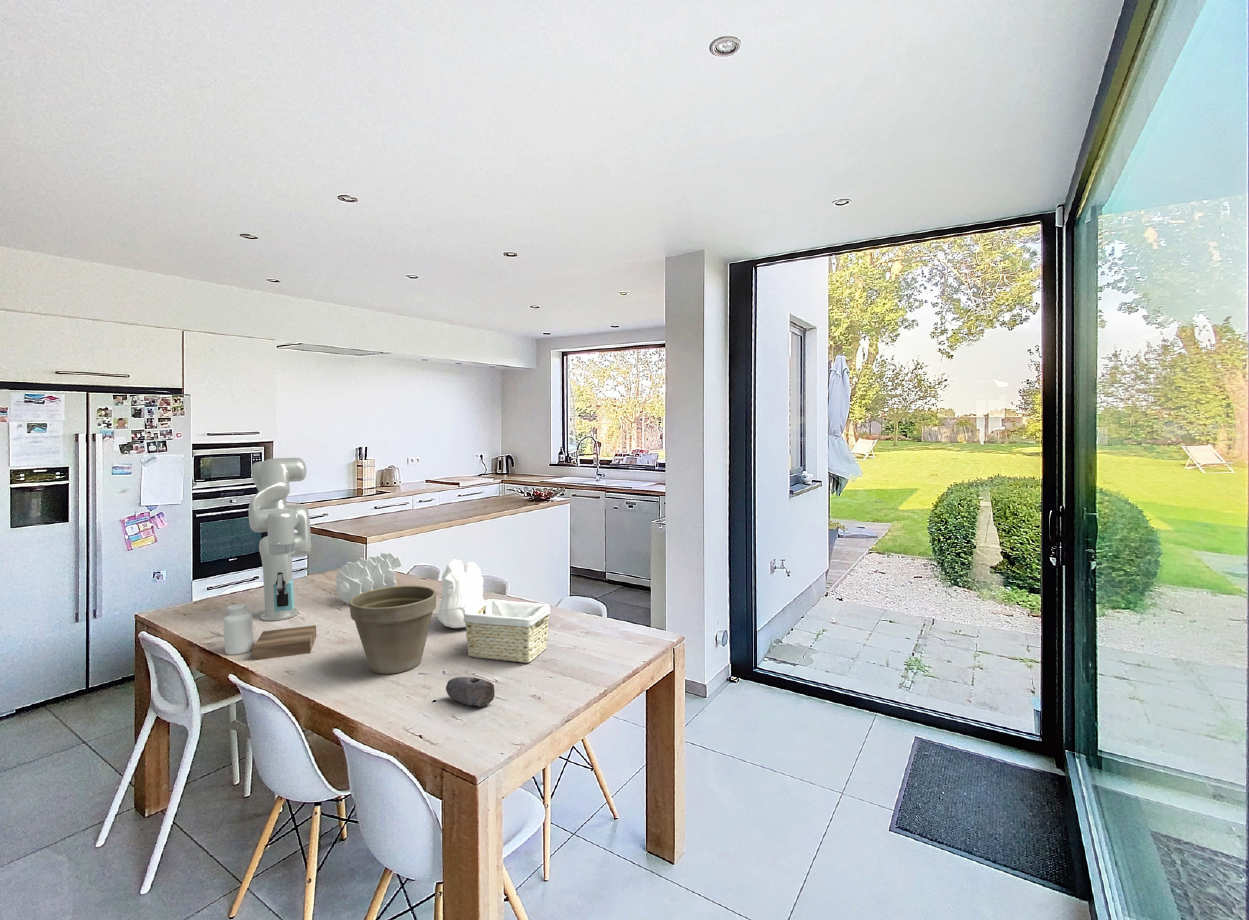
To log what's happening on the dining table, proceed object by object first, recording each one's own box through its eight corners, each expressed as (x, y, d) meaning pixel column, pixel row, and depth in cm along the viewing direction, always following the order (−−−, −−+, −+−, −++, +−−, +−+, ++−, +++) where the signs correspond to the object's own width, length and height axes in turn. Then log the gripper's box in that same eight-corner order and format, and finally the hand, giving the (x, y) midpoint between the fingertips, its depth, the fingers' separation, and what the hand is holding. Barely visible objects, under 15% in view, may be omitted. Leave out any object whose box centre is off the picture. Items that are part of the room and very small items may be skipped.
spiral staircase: (338, 615, 245) (383, 595, 268) (366, 601, 238) (411, 582, 261) (320, 574, 246) (367, 557, 269) (348, 559, 239) (394, 543, 262)
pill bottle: (223, 657, 191) (220, 611, 190) (226, 648, 199) (224, 604, 198) (252, 652, 195) (250, 607, 194) (254, 644, 202) (252, 600, 201)
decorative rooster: (462, 636, 208) (460, 566, 206) (427, 630, 215) (425, 561, 213) (505, 615, 231) (504, 551, 229) (473, 609, 237) (471, 547, 236)
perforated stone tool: (440, 701, 161) (439, 675, 160) (454, 693, 165) (453, 668, 165) (483, 713, 154) (482, 687, 153) (496, 704, 158) (496, 679, 158)
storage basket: (462, 657, 190) (460, 612, 189) (488, 639, 205) (487, 597, 204) (530, 666, 183) (529, 619, 182) (552, 647, 198) (552, 603, 197)
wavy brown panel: (263, 642, 204) (263, 631, 203) (316, 636, 209) (315, 625, 209) (253, 660, 189) (252, 648, 188) (310, 653, 194) (309, 641, 194)
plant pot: (374, 648, 198) (372, 584, 196) (448, 649, 197) (447, 584, 195) (335, 681, 173) (332, 608, 171) (420, 682, 172) (418, 608, 171)
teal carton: (277, 607, 199) (276, 580, 199) (294, 605, 201) (293, 579, 201) (274, 612, 195) (273, 584, 194) (292, 610, 196) (290, 583, 196)
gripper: (273, 545, 203) (276, 598, 204) (263, 555, 187) (266, 612, 188) (298, 543, 206) (301, 595, 207) (290, 553, 190) (293, 609, 191)
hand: (284, 603), depth 198 cm, fingers closed on teal carton, 5 cm apart
